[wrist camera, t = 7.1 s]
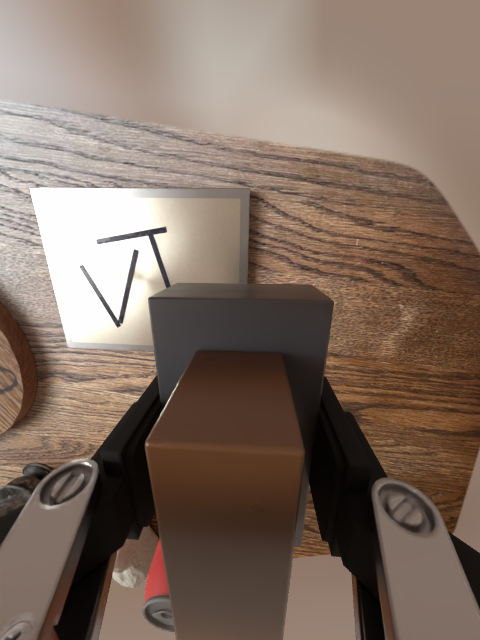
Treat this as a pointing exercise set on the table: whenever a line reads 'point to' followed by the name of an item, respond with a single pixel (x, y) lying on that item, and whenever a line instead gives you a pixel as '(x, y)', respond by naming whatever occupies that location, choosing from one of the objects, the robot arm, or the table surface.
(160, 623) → the beer can
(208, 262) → the whiteboard
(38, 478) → the dark chess piece
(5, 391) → the trivet
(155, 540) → the decorative stone
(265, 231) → the table surface
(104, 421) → the table surface
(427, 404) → the table surface
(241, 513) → the eraser
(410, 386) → the table surface
